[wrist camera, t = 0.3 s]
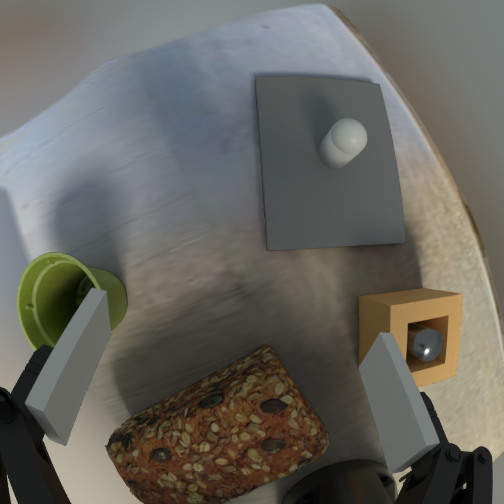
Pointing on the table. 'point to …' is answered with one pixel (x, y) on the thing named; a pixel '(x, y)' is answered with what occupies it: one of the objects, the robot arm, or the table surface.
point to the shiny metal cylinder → (423, 342)
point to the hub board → (311, 183)
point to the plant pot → (61, 296)
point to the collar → (418, 311)
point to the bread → (220, 436)
